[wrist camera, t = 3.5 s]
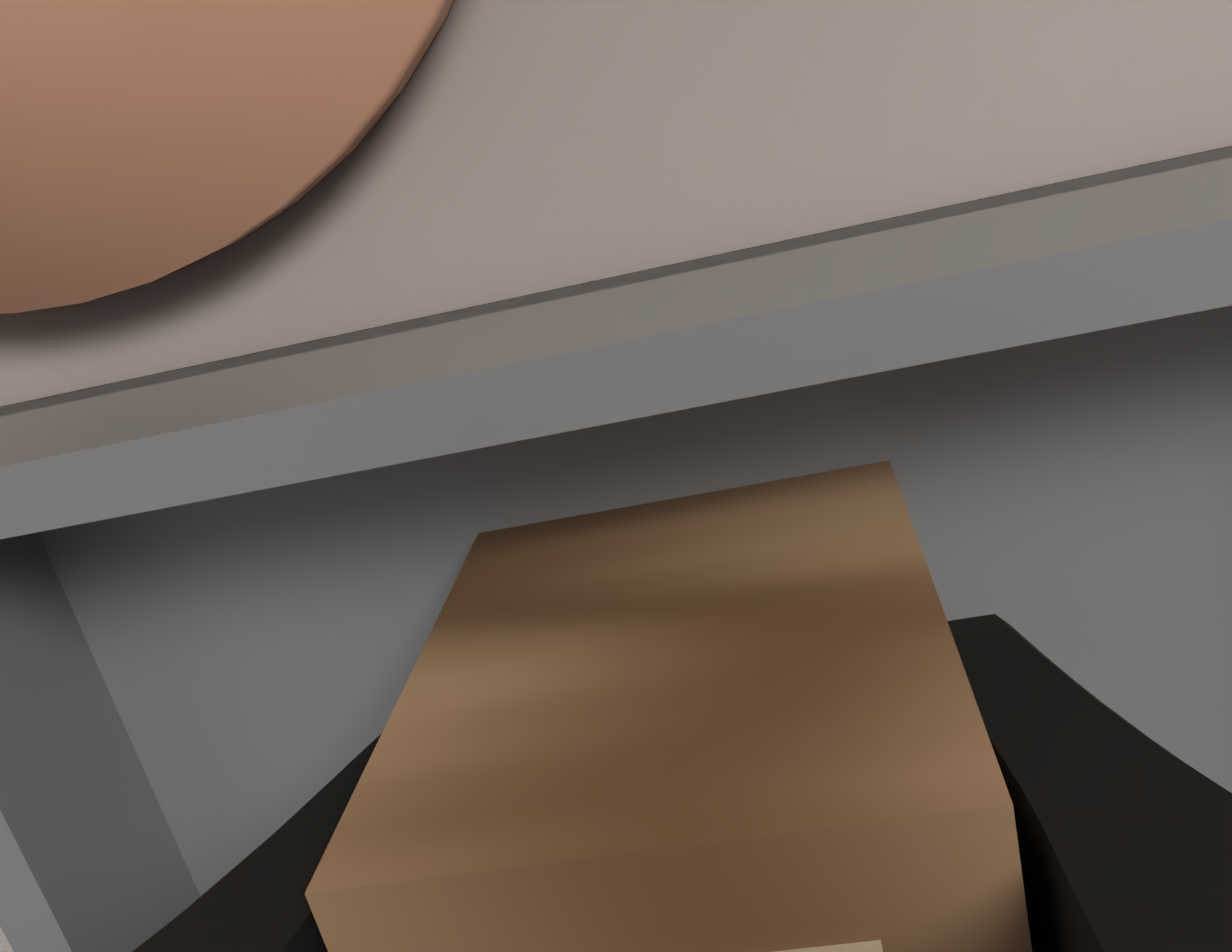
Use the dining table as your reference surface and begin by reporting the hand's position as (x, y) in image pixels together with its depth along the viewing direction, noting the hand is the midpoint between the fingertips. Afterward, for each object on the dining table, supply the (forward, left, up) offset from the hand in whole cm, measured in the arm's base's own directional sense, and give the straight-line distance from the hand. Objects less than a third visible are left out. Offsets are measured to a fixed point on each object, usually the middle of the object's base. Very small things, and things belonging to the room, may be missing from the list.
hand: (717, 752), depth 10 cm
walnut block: (0, 0, -1) cm, 1 cm away
